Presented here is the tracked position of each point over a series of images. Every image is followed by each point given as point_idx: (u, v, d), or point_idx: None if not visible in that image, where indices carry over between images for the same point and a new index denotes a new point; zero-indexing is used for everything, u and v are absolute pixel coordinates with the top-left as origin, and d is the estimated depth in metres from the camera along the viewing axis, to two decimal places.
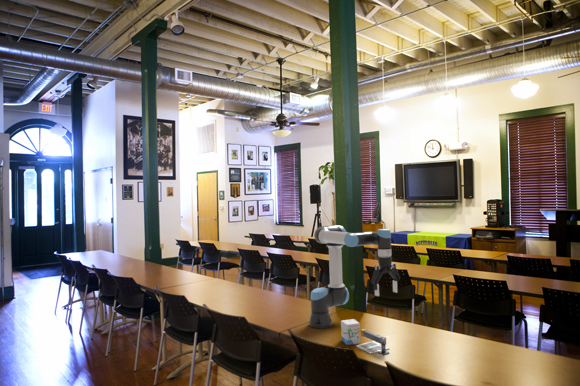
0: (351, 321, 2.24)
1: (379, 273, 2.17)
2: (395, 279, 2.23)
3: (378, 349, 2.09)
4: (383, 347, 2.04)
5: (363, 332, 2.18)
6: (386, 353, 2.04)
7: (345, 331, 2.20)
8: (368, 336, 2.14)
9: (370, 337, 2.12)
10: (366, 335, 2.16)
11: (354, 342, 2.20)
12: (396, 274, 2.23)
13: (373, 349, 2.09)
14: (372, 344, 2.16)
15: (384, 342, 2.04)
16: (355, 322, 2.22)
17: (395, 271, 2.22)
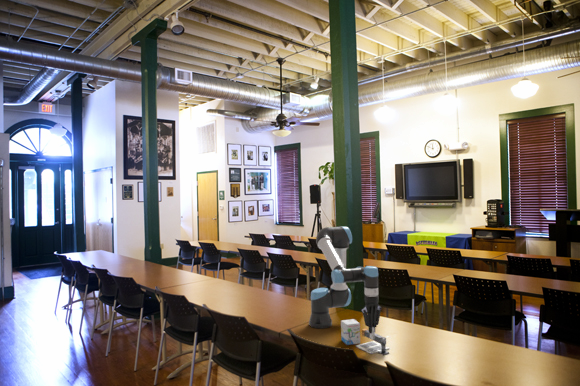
0: (351, 321, 2.24)
1: (369, 315, 2.10)
2: (373, 325, 2.11)
3: (378, 349, 2.09)
4: (383, 347, 2.04)
5: (364, 332, 2.18)
6: (386, 353, 2.04)
7: (345, 331, 2.20)
8: (369, 336, 2.14)
9: None
10: (367, 335, 2.16)
11: (354, 342, 2.20)
12: (377, 318, 2.12)
13: (373, 349, 2.09)
14: (372, 344, 2.16)
15: (384, 342, 2.04)
16: (355, 322, 2.22)
17: (378, 314, 2.12)
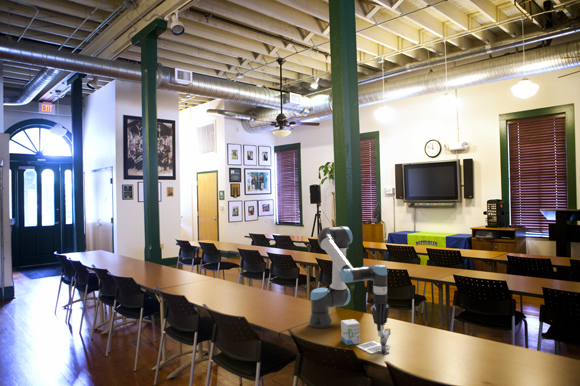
0: (351, 321, 2.24)
1: (377, 313, 2.13)
2: (381, 323, 2.14)
3: (378, 349, 2.09)
4: (383, 347, 2.04)
5: None
6: (386, 353, 2.04)
7: (345, 331, 2.20)
8: None
9: None
10: None
11: (354, 342, 2.20)
12: (385, 316, 2.15)
13: (373, 349, 2.09)
14: (372, 344, 2.16)
15: (382, 342, 2.04)
16: (355, 322, 2.22)
17: (386, 312, 2.15)
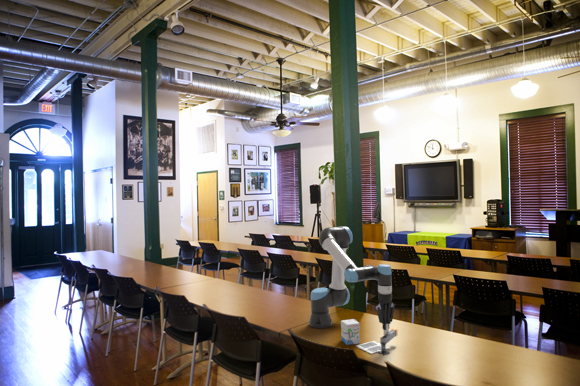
0: (351, 321, 2.24)
1: (382, 312, 2.15)
2: (387, 322, 2.16)
3: (378, 349, 2.09)
4: (383, 347, 2.04)
5: None
6: (386, 353, 2.04)
7: (345, 331, 2.20)
8: None
9: None
10: None
11: (354, 342, 2.20)
12: (390, 315, 2.17)
13: (373, 349, 2.09)
14: (372, 344, 2.16)
15: (381, 342, 2.05)
16: (355, 322, 2.22)
17: (391, 311, 2.17)
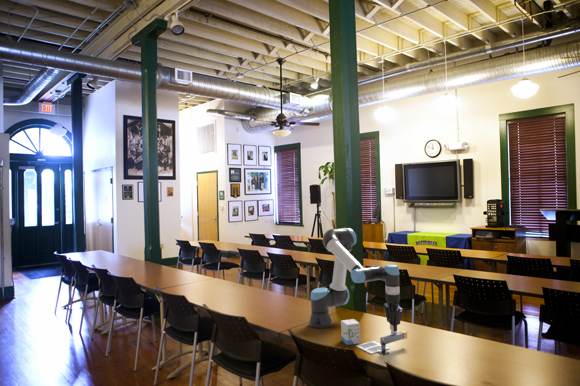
0: (351, 321, 2.24)
1: None
2: None
3: (378, 349, 2.09)
4: (383, 347, 2.04)
5: None
6: (386, 353, 2.04)
7: (345, 331, 2.20)
8: None
9: None
10: None
11: (354, 342, 2.20)
12: None
13: (373, 349, 2.09)
14: (372, 344, 2.16)
15: (380, 341, 2.05)
16: (355, 322, 2.22)
17: (396, 314, 2.09)
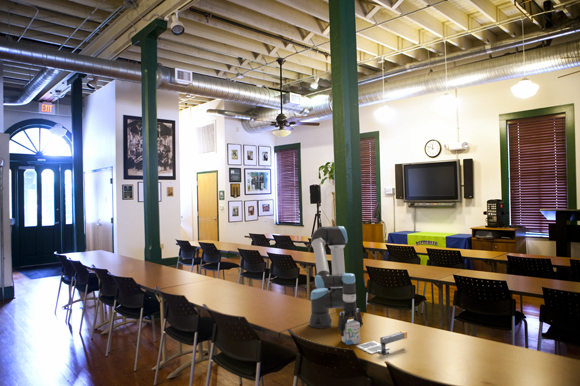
0: (351, 321, 2.24)
1: (344, 318, 2.22)
2: None
3: (378, 349, 2.09)
4: (383, 347, 2.04)
5: None
6: (386, 353, 2.04)
7: (345, 331, 2.20)
8: None
9: None
10: None
11: (354, 342, 2.20)
12: (359, 319, 2.26)
13: (373, 349, 2.09)
14: (372, 344, 2.16)
15: (380, 341, 2.05)
16: (355, 322, 2.22)
17: (359, 316, 2.26)
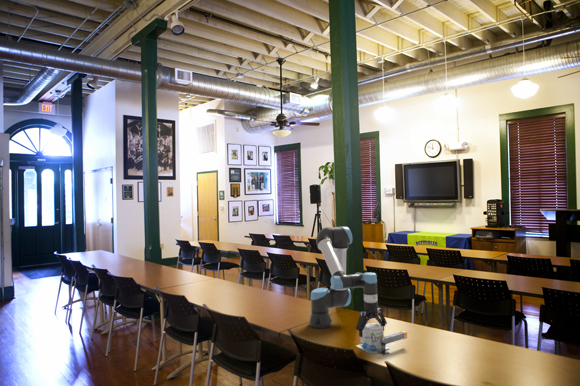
0: (373, 325, 2.14)
1: (365, 319, 2.12)
2: (381, 324, 2.17)
3: (378, 349, 2.09)
4: (383, 347, 2.04)
5: None
6: (386, 353, 2.04)
7: (367, 335, 2.10)
8: None
9: None
10: None
11: (377, 347, 2.10)
12: (382, 319, 2.17)
13: None
14: None
15: (380, 341, 2.05)
16: (377, 326, 2.12)
17: (381, 316, 2.16)
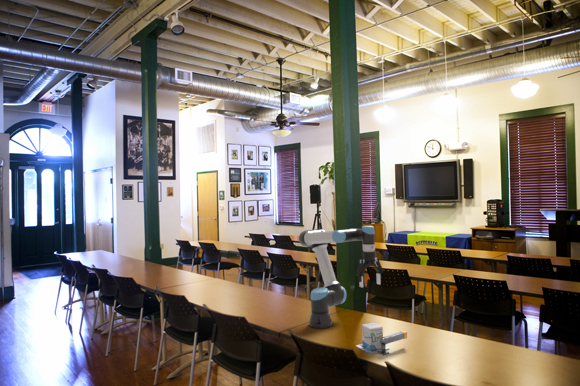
0: (373, 325, 2.14)
1: (363, 266, 2.36)
2: (378, 272, 2.42)
3: (378, 349, 2.09)
4: (383, 347, 2.04)
5: None
6: (386, 353, 2.04)
7: (367, 335, 2.10)
8: None
9: None
10: None
11: (377, 347, 2.10)
12: (379, 267, 2.42)
13: None
14: None
15: (380, 341, 2.05)
16: (377, 326, 2.12)
17: (378, 264, 2.41)
